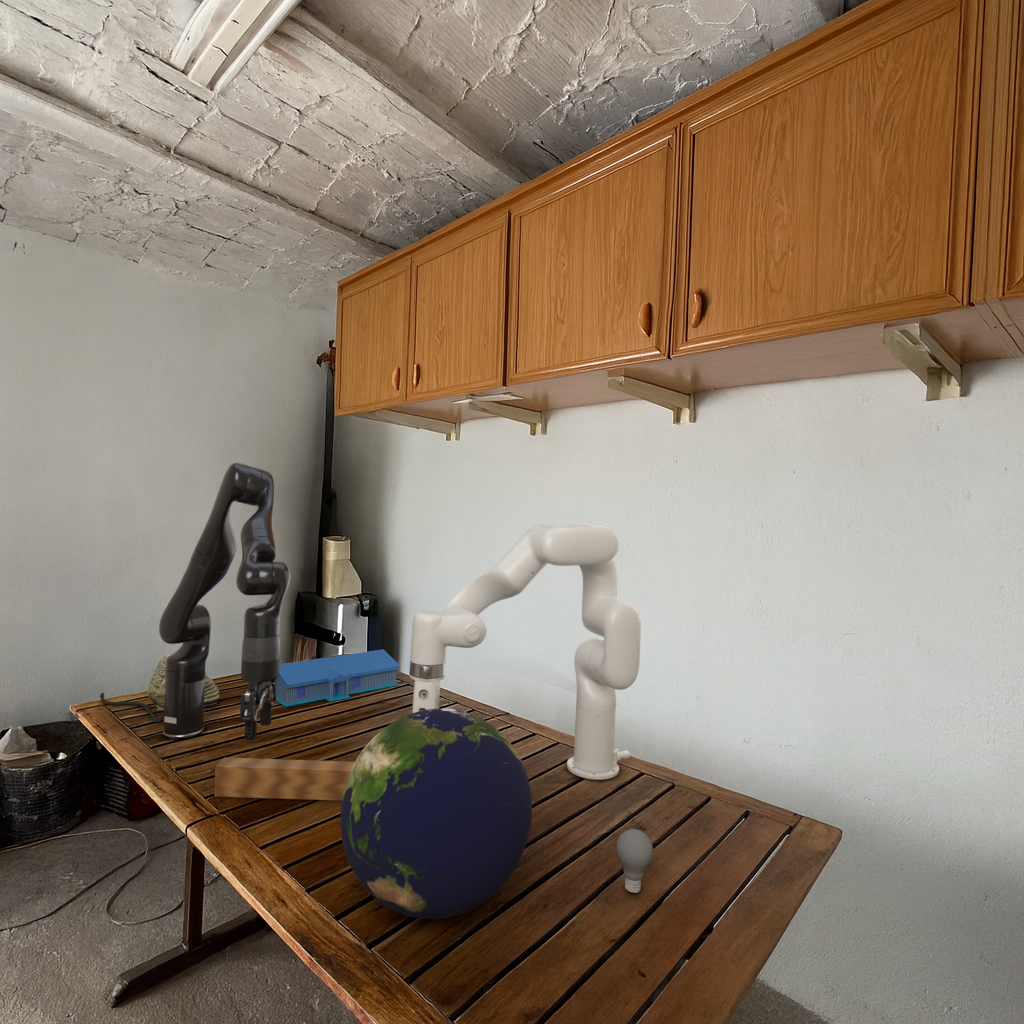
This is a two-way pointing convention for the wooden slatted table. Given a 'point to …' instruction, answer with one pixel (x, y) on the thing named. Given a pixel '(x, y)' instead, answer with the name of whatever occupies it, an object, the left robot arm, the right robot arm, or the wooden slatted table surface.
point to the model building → (335, 677)
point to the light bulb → (634, 857)
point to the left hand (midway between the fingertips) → (258, 731)
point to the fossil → (158, 687)
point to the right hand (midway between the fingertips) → (422, 749)
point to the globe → (436, 813)
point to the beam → (281, 778)
